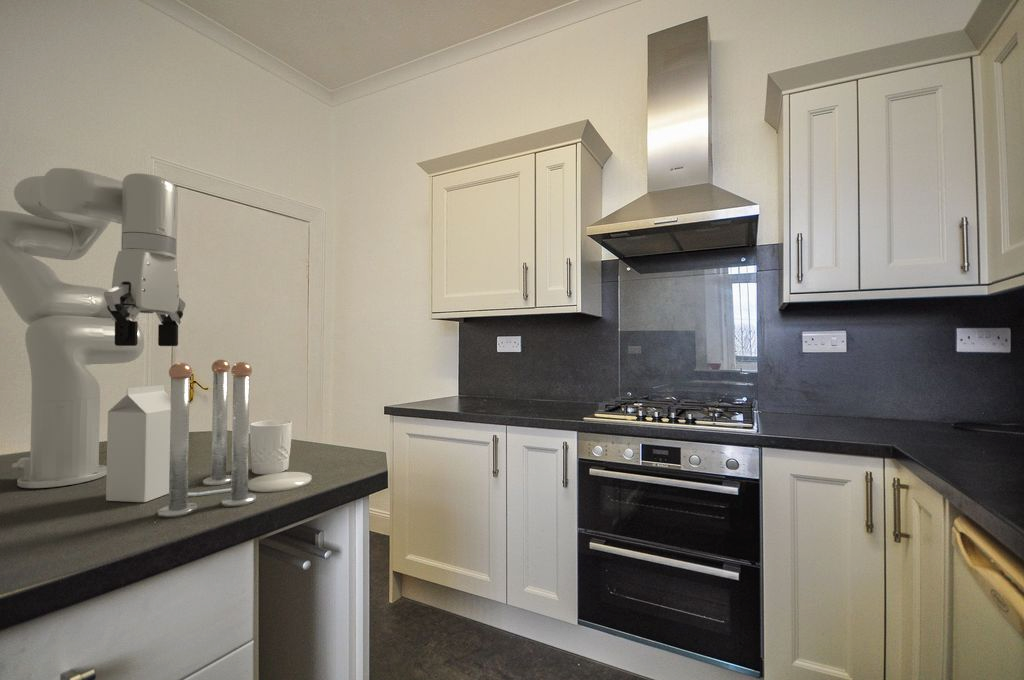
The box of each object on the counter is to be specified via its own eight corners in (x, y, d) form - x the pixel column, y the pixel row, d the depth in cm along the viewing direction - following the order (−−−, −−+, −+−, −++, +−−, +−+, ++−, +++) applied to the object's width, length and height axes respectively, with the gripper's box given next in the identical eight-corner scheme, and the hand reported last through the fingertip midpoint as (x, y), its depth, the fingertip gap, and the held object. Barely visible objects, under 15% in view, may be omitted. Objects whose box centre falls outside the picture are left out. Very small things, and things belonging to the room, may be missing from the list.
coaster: (234, 492, 81) (234, 488, 81) (264, 474, 92) (264, 471, 92) (297, 492, 82) (297, 488, 82) (320, 474, 93) (320, 471, 93)
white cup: (262, 477, 90) (263, 427, 91) (241, 471, 95) (242, 423, 95) (299, 469, 97) (299, 422, 97) (277, 463, 101) (278, 418, 101)
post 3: (215, 507, 74) (217, 362, 74) (232, 496, 79) (234, 361, 79) (246, 506, 74) (249, 362, 74) (261, 496, 79) (264, 361, 80)
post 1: (149, 518, 69) (152, 363, 69) (172, 506, 74) (175, 362, 74) (183, 517, 69) (186, 363, 70) (204, 506, 74) (206, 362, 75)
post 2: (197, 485, 85) (199, 359, 85) (213, 477, 90) (215, 359, 90) (224, 485, 85) (226, 360, 86) (239, 477, 90) (241, 359, 90)
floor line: (168, 499, 78) (168, 497, 78) (173, 494, 80) (173, 492, 80) (244, 491, 82) (244, 489, 82) (246, 487, 84) (246, 485, 84)
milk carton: (179, 490, 82) (181, 385, 83) (144, 503, 75) (146, 388, 76) (143, 488, 83) (145, 384, 83) (105, 501, 76) (107, 388, 76)
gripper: (162, 257, 88) (161, 346, 88) (83, 235, 71) (81, 345, 71) (202, 258, 89) (201, 346, 88) (133, 236, 71) (131, 345, 71)
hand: (148, 345), depth 79 cm, fingers open, 9 cm apart
